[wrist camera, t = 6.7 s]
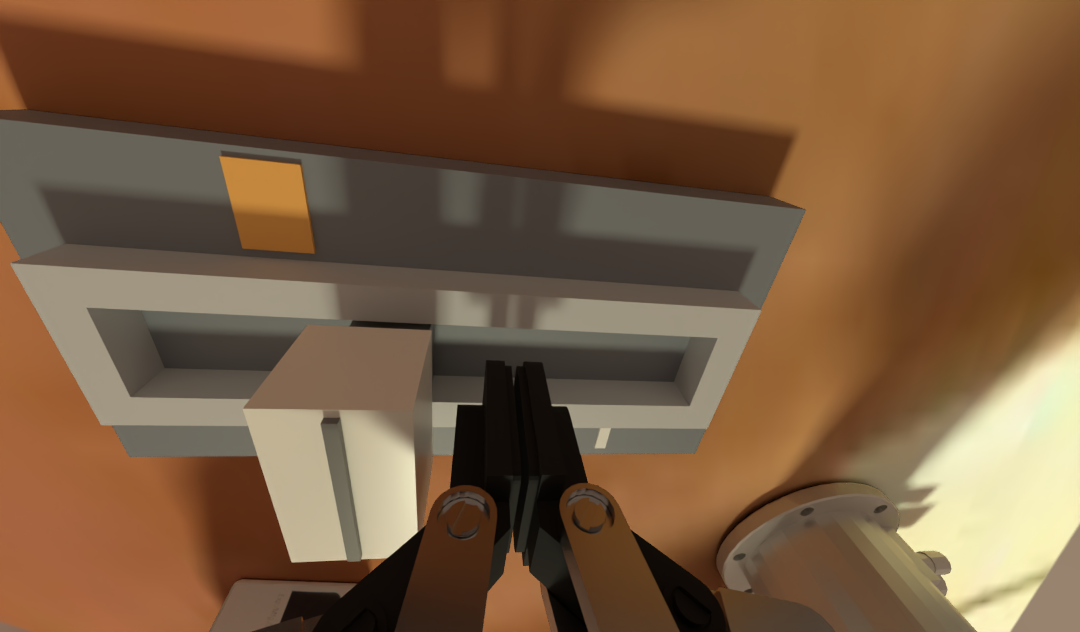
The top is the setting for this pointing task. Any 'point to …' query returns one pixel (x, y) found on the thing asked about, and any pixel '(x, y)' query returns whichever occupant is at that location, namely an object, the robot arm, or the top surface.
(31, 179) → the console
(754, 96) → the top surface
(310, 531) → the fader
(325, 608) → the container
